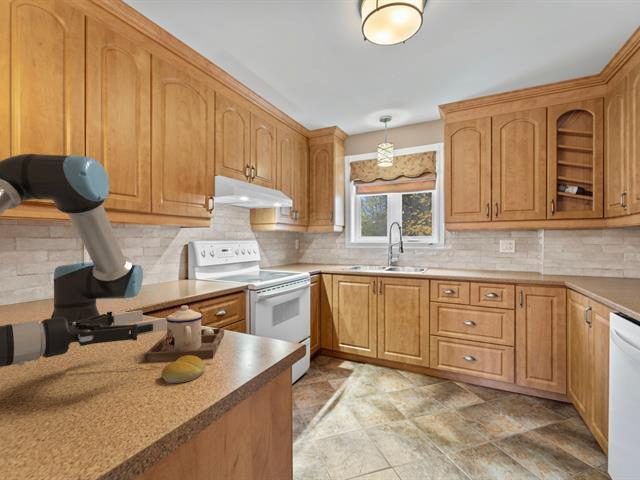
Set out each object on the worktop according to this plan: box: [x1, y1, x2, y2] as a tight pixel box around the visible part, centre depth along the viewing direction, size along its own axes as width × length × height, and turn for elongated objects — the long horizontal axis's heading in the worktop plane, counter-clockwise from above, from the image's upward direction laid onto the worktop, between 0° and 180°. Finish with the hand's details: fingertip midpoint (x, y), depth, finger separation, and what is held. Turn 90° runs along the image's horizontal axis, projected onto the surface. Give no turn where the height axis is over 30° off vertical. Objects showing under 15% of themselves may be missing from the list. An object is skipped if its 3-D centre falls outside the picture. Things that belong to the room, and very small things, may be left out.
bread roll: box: [161, 355, 206, 384], centre depth 72 cm, size 8×9×4 cm
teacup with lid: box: [166, 305, 203, 351], centre depth 86 cm, size 12×9×12 cm
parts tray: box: [144, 327, 225, 363], centre depth 89 cm, size 21×16×3 cm
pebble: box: [204, 328, 214, 335], centre depth 96 cm, size 3×3×3 cm
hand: (153, 319), depth 79 cm, fingers open, 13 cm apart
